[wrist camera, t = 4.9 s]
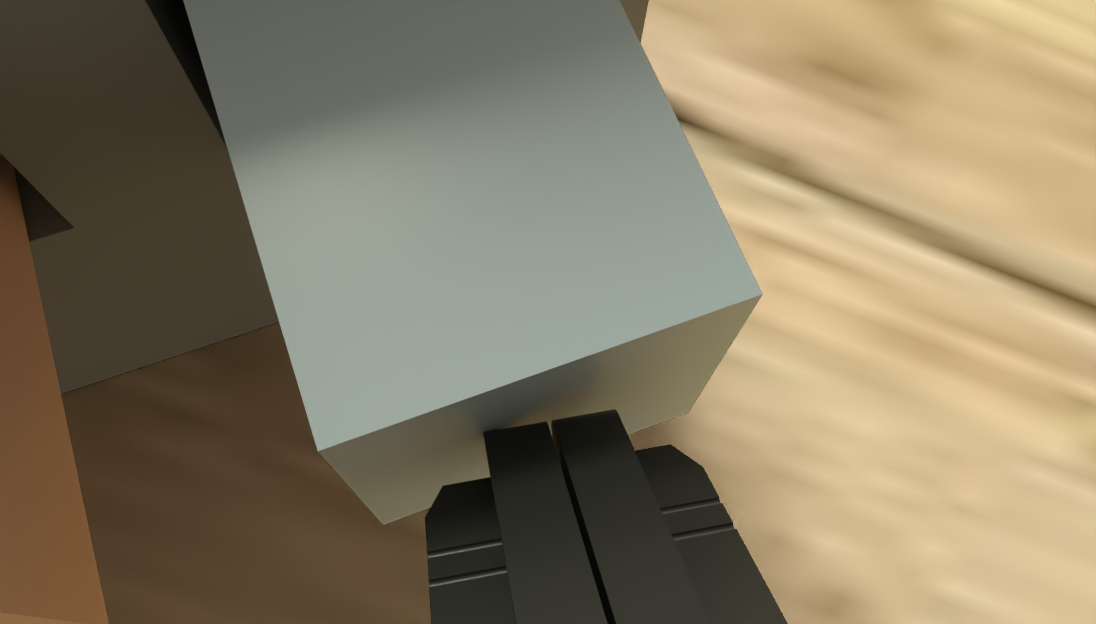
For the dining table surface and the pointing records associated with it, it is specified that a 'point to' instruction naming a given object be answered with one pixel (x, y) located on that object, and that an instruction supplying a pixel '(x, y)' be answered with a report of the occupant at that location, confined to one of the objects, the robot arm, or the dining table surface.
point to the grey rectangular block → (469, 224)
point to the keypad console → (128, 184)
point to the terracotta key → (36, 453)
